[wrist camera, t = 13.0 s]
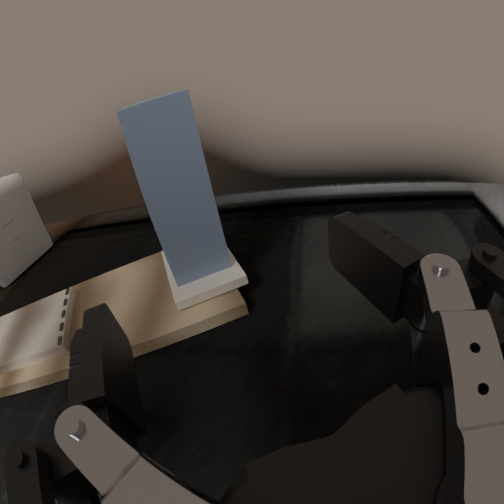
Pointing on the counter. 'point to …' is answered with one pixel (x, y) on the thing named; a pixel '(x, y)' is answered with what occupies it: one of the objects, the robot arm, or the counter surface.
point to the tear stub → (180, 197)
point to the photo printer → (19, 230)
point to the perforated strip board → (124, 310)
